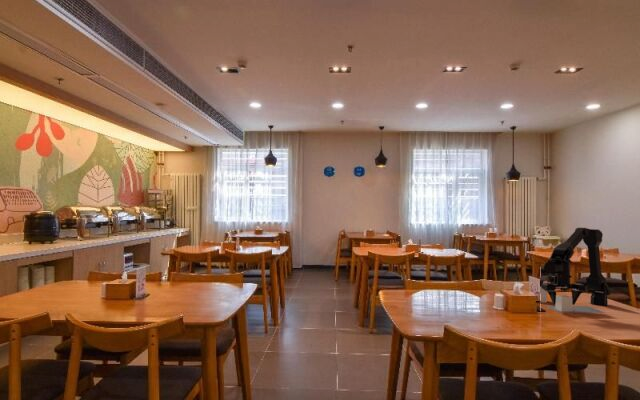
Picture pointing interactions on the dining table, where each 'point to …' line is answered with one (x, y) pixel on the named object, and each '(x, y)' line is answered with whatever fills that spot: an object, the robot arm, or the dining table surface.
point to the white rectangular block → (563, 303)
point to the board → (577, 309)
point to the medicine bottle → (543, 293)
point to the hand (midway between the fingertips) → (563, 304)
